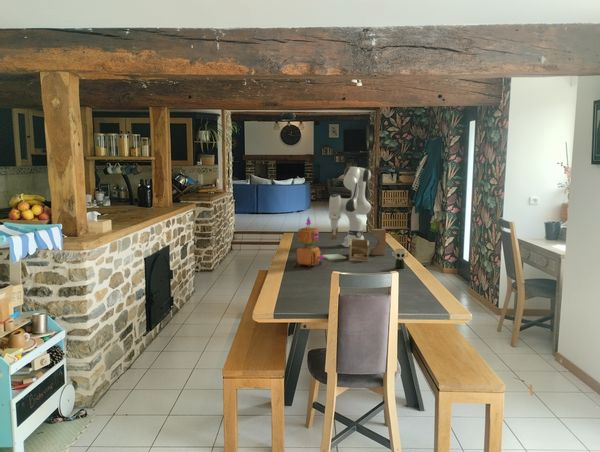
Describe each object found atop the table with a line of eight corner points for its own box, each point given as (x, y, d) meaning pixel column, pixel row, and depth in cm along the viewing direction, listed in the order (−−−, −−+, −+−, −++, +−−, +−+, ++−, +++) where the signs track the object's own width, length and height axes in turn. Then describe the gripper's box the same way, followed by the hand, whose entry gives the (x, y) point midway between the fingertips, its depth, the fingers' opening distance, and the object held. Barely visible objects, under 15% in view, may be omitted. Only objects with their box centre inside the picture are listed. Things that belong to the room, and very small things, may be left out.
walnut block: (331, 238, 377) (332, 226, 376) (337, 238, 377) (337, 226, 376) (331, 239, 373) (331, 227, 372) (337, 239, 372) (337, 227, 371)
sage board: (322, 256, 381) (322, 255, 381) (338, 255, 386) (338, 253, 385) (329, 259, 368) (329, 258, 368) (346, 258, 373) (346, 257, 372)
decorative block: (371, 255, 388) (371, 229, 385) (370, 253, 394) (370, 228, 391) (385, 255, 388) (386, 229, 385) (384, 253, 393) (384, 228, 391)
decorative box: (330, 265, 350) (330, 215, 345) (316, 270, 331) (317, 218, 327) (306, 262, 359) (306, 214, 354) (292, 267, 340) (292, 217, 335)
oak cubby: (350, 254, 391) (350, 239, 390) (368, 254, 389) (368, 239, 388) (348, 260, 365) (349, 244, 364) (368, 261, 363) (368, 245, 362)
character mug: (392, 268, 339) (392, 250, 337) (391, 266, 346) (391, 248, 344) (408, 269, 338) (409, 250, 336) (407, 267, 345) (407, 248, 343)
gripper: (331, 214, 383) (331, 232, 385) (329, 217, 363) (329, 235, 365) (339, 214, 382) (339, 232, 384) (338, 217, 362) (338, 236, 364)
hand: (334, 234), depth 374 cm, fingers closed on walnut block, 4 cm apart
